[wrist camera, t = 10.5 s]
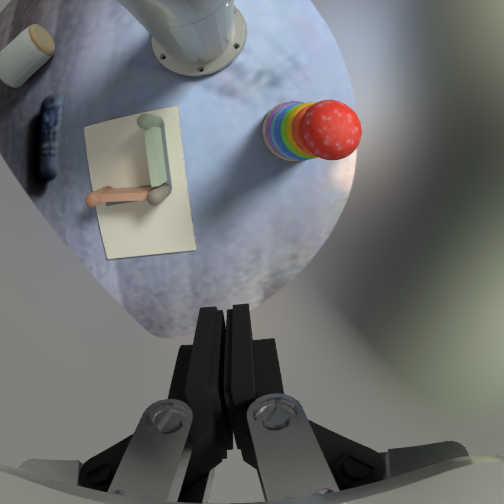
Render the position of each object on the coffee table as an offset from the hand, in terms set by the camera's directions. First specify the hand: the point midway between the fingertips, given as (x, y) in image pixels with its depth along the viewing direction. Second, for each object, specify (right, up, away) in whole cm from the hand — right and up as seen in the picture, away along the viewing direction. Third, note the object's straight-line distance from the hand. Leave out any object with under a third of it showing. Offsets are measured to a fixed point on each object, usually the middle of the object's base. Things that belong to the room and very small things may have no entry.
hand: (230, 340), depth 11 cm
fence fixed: (-11, +17, +27) cm, 33 cm away
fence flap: (-15, +11, +29) cm, 34 cm away
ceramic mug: (-33, +34, +20) cm, 52 cm away
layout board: (-15, +12, +29) cm, 35 cm away
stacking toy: (+6, +19, +28) cm, 34 cm away
